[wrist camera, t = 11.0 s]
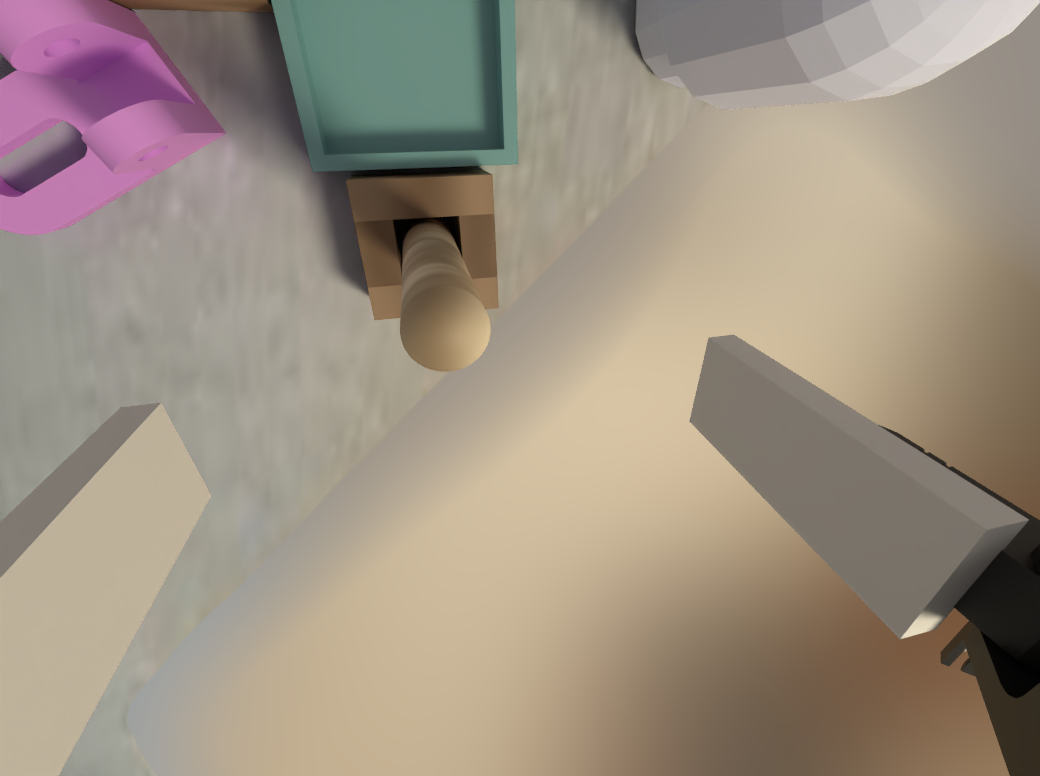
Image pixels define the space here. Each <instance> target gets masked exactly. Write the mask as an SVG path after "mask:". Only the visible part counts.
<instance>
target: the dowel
mask: <svg viewBox="0 0 1040 776" xmlns="http://www.w3.org/2000/svg"><path fill="white" fill-rule="evenodd" d="M400 335H401V340H402V343H403V346H404V348H405V350H406V351H407V353H408V354H409V355H410V357H411V358H412V359H413V360H414V361H416V362H417V363H418V364H420V365H422V366H424V367H426V368H428V369H431V370H435V371H454V370H459V369H462V368H464V367H466V366H468V365H470V364H471V363H473V362H474V361H476V360H477V359H478V358H479V357H480V356H481V354H482V353H483V352H484V350H485V349H486V347H487V344H488V342H489V338H490V321H489V318H488V315H487V313H486V310H485V308H484V306H483V304H482V301H481V299H480V297H479V295H478V292H477V290H476V288H475V286H474V283H473V281H472V279H471V277H470V274H469V272H468V270H467V267H466V265H465V263H464V261H463V258H462V256H461V254H460V252H459V249H458V247H457V245H456V243H455V240H454V238H453V236H452V234H451V231H450V229H449V227H448V225H447V224H446V223H445V222H444V221H443V220H442V219H441V218H439V217H431V218H414V219H411V220H410V221H409V222H408V223H407V225H406V227H405V229H404V233H403V260H402V291H401V321H400Z"/></svg>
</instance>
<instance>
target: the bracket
mask: <svg viewBox="0 0 1040 776" xmlns="http://www.w3.org/2000/svg"><path fill="white" fill-rule="evenodd" d="M0 53H1V54H2V55H3V56H4V57H5V58H6V59H7V61H8V62H9V63H10V64H11V65H12V66H13V67H14V68H16V69H17V70H16V71H14V72H12V73H11V74H9V75H8V76H6V77H4V78H3V79H1V80H0V159H1V158H2V157H4V156H5V155H7V154H9V153H10V152H12V151H14V150H15V149H17V148H19V147H20V146H22V145H23V144H25V143H27V142H28V141H30V140H32V139H33V138H35V137H36V136H38V135H40V134H41V133H43V132H45V131H46V130H48V129H50V128H51V127H53V126H54V125H56V124H58V123H59V122H61V121H63V120H64V121H66V122H68V123H70V124H71V125H73V126H74V127H75V128H77V129H78V130H79V131H80V133H81V134H82V135H83V136H82V140H83V141H84V143H85V144H86V145H87V153H86V155H85V157H84V158H82V159H81V160H79V161H77V162H76V163H74V164H73V165H71V166H69V167H68V168H66V169H64V170H63V171H61V172H59V173H58V174H56V175H54V176H53V177H51V178H49V179H48V180H46V181H44V182H43V183H41V184H39V185H38V186H36V187H34V188H33V189H31V190H29V191H28V192H26V193H22V192H19V191H17V190H15V189H13V188H12V187H10V186H9V185H8V184H7V183H6V182H5V181H4V180H3V179H2V177H1V176H0V229H3V230H6V231H9V232H13V233H19V234H28V235H36V234H44V233H48V232H52V231H56V230H59V229H63V228H66V227H69V226H71V225H73V224H75V223H76V222H78V221H80V220H81V219H83V218H85V217H86V216H88V215H90V214H91V213H93V212H95V211H96V210H98V209H100V208H101V207H103V206H105V205H106V204H108V203H110V202H112V201H113V200H115V199H117V198H118V197H120V196H122V195H123V194H125V193H127V192H128V191H130V190H132V189H133V188H135V187H137V186H138V185H140V184H142V183H143V182H145V181H147V180H148V179H150V178H152V177H153V176H155V175H157V174H159V173H160V172H162V171H164V170H165V169H167V168H169V167H170V166H172V165H174V164H175V163H177V162H179V161H180V160H182V159H184V158H185V157H187V156H189V155H190V154H192V153H194V152H195V151H197V150H199V149H200V148H202V147H204V146H206V145H207V144H209V143H211V142H212V141H214V140H216V139H217V138H219V137H221V136H222V135H224V134H226V132H225V131H224V129H223V128H222V127H221V126H220V124H219V123H218V122H217V120H216V119H215V118H214V116H213V115H212V114H211V112H210V111H209V110H208V108H207V107H206V106H205V104H204V103H203V102H202V100H201V99H200V98H199V96H198V95H197V94H196V93H195V91H194V90H193V89H192V87H191V86H190V85H189V83H188V82H187V81H186V79H185V78H184V77H183V75H182V74H181V73H180V71H179V70H178V69H177V67H176V66H175V65H174V63H173V62H172V61H171V60H170V58H169V57H168V56H167V54H166V53H165V52H164V50H163V49H162V48H161V46H160V45H159V44H158V42H157V41H156V40H155V38H154V37H153V36H152V34H151V33H150V32H149V30H148V29H147V28H146V27H145V25H144V24H143V23H142V21H141V20H140V19H139V17H138V16H137V15H136V13H135V12H133V11H131V10H129V9H127V8H124V7H122V6H120V5H118V4H115V3H113V2H111V1H109V0H0Z"/></svg>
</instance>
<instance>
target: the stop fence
mask: <svg viewBox="0 0 1040 776" xmlns="http://www.w3.org/2000/svg"><path fill="white" fill-rule="evenodd" d="M109 1H111V2H113V3H115V4H118V5H120V6H122V7H124V8H127V9H158V10H198V11H237V12H274V10H273V6H272V2H271V0H109Z"/></svg>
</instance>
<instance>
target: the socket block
mask: <svg viewBox="0 0 1040 776" xmlns="http://www.w3.org/2000/svg"><path fill="white" fill-rule="evenodd" d="M346 185H347V190H348V195H349V199H350V204H351V209H352V214H353V219H354V224H355V228H356V233H357V238H358V243H359V248H360V252H361V257H362V262H363V267H364V272H365V277H366V281H367V286H368V291H369V296H370V301H371V306H372V310H373V315H374V320H382V319H392V318H401V291H402V257H401V251H400V245H399V239H398V232H397V226H396V220H397V219H414V218H431V217H448V216H454V218H455V229H456V240H457V247H458V249H459V252H460V254H461V256H462V258H463V261H464V263H465V265H466V267H467V270H468V272H469V274H470V277H471V279H472V281H473V283H474V286H475V288H476V290H477V292H478V295H479V297H480V299H481V301H482V304H483V306H484V308H485V309H493V308H499V305H498V284H497V263H496V242H495V221H494V200H493V179H492V174H490V173H488V172H486V171H484V170H474V171H449V172H423V173H398V174H372V175H352V176H351V177H350V178H348V179H347V180H346Z"/></svg>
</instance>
